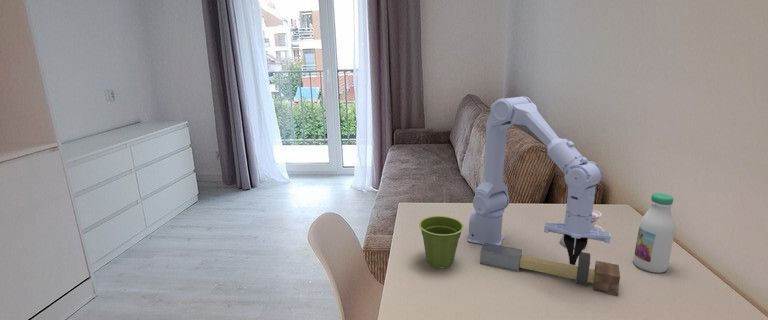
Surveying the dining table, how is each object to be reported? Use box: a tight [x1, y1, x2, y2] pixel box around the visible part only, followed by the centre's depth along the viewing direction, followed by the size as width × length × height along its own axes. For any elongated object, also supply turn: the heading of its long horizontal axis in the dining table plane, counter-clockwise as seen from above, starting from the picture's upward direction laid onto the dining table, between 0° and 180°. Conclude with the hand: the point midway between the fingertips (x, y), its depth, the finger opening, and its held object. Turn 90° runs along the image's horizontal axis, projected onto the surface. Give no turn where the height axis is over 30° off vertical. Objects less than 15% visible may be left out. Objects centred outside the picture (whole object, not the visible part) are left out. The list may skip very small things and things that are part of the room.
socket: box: [592, 260, 621, 297], centre depth 100 cm, size 5×6×5 cm
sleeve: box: [479, 243, 523, 273], centre depth 110 cm, size 10×4×4 cm, turn 64°
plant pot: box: [418, 215, 465, 269], centre depth 110 cm, size 12×12×11 cm
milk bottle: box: [632, 192, 676, 274], centre depth 107 cm, size 8×8×20 cm
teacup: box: [590, 209, 606, 232], centre depth 130 cm, size 12×12×6 cm
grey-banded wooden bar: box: [519, 251, 595, 287], centre depth 104 cm, size 20×4×7 cm, turn 64°
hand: (572, 262), depth 102 cm, fingers closed
